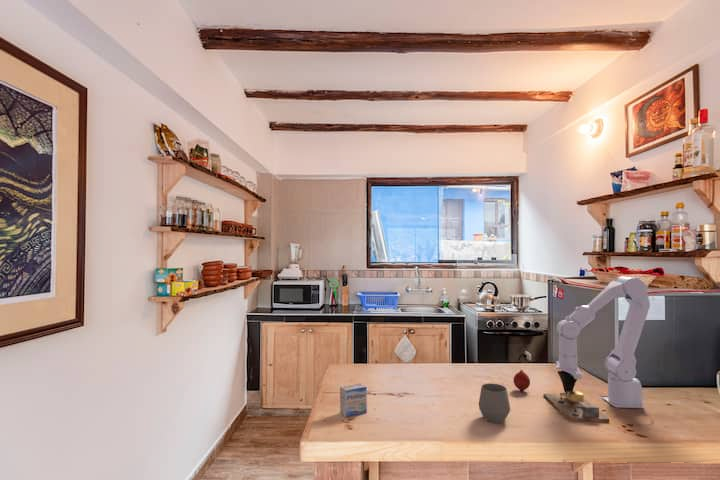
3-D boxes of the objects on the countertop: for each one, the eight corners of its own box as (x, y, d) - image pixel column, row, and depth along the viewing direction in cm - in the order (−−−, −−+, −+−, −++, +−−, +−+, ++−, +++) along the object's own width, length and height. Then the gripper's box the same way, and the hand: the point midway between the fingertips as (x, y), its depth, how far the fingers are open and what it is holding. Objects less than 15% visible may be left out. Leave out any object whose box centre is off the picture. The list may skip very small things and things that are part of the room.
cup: (506, 428, 116) (506, 395, 117) (475, 421, 121) (475, 389, 122) (512, 417, 124) (512, 385, 125) (483, 410, 129) (482, 380, 130)
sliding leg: (579, 398, 134) (579, 391, 134) (583, 402, 131) (583, 394, 131) (558, 398, 135) (558, 391, 135) (562, 401, 132) (562, 394, 132)
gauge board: (577, 397, 140) (577, 386, 141) (609, 422, 120) (609, 409, 121) (543, 396, 141) (543, 385, 141) (569, 421, 121) (569, 408, 121)
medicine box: (345, 418, 124) (345, 390, 124) (339, 412, 128) (339, 386, 128) (367, 413, 128) (367, 386, 128) (360, 408, 132) (360, 382, 132)
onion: (531, 394, 143) (531, 372, 143) (515, 393, 144) (515, 371, 145) (528, 388, 149) (528, 367, 149) (512, 387, 150) (512, 366, 150)
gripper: (547, 348, 146) (548, 385, 145) (565, 360, 131) (566, 400, 131) (567, 349, 145) (567, 385, 145) (587, 360, 131) (587, 401, 131)
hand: (568, 392), depth 138 cm, fingers closed
